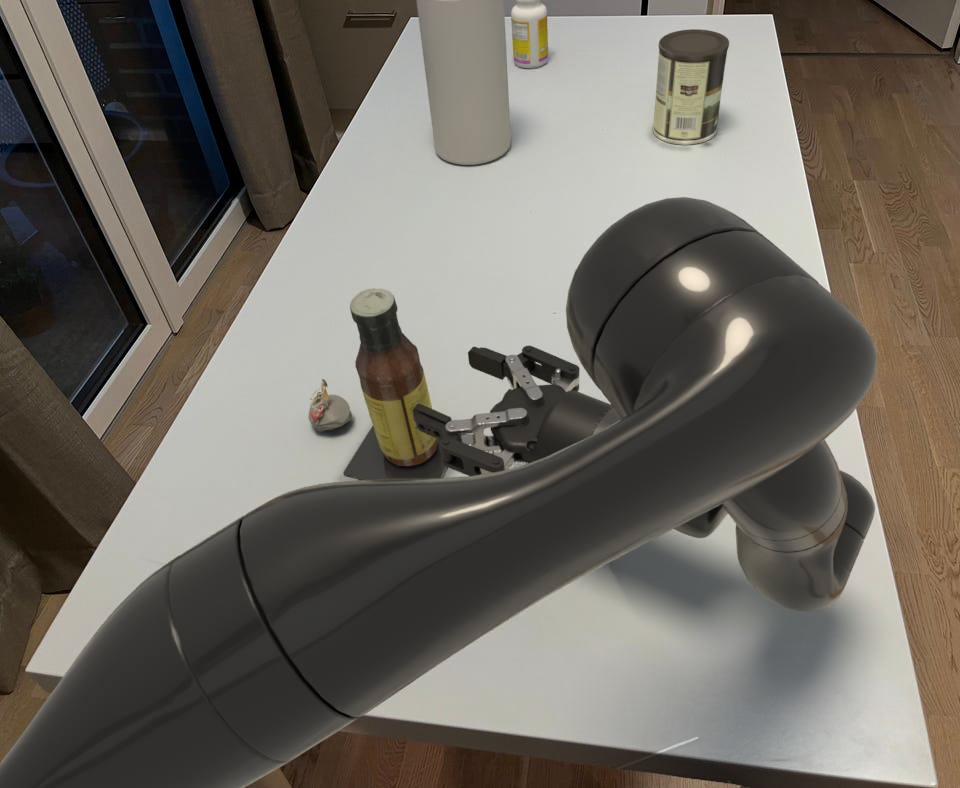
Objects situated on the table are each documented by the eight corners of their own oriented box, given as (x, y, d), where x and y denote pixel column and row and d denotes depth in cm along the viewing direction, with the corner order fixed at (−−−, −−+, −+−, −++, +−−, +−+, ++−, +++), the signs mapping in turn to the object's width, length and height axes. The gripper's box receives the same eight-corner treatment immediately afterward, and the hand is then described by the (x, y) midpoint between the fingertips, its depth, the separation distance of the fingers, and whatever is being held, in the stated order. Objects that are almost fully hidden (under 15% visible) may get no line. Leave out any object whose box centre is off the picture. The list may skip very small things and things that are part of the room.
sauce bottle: (430, 419, 86) (404, 270, 72) (446, 460, 82) (422, 310, 68) (372, 436, 85) (334, 288, 71) (385, 478, 81) (347, 329, 67)
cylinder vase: (523, 154, 127) (517, -12, 110) (451, 174, 125) (432, 7, 107) (492, 123, 136) (482, -36, 118) (424, 141, 133) (403, -19, 115)
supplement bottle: (544, 53, 155) (543, -17, 146) (551, 67, 150) (550, -5, 141) (511, 57, 155) (507, -13, 146) (516, 71, 150) (513, -1, 141)
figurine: (361, 419, 88) (351, 380, 84) (334, 445, 85) (322, 406, 81) (327, 401, 90) (315, 363, 86) (299, 426, 88) (286, 387, 84)
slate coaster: (431, 498, 79) (431, 495, 79) (343, 475, 82) (342, 472, 82) (468, 428, 86) (467, 424, 85) (385, 409, 89) (384, 405, 88)
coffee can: (700, 111, 133) (711, 24, 123) (727, 138, 126) (741, 48, 116) (642, 121, 132) (648, 35, 122) (666, 150, 125) (675, 60, 115)
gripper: (645, 365, 66) (483, 307, 73) (560, 481, 58) (388, 403, 65) (639, 426, 72) (489, 367, 79) (561, 540, 64) (402, 462, 71)
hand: (443, 383), depth 72 cm, fingers open, 8 cm apart
